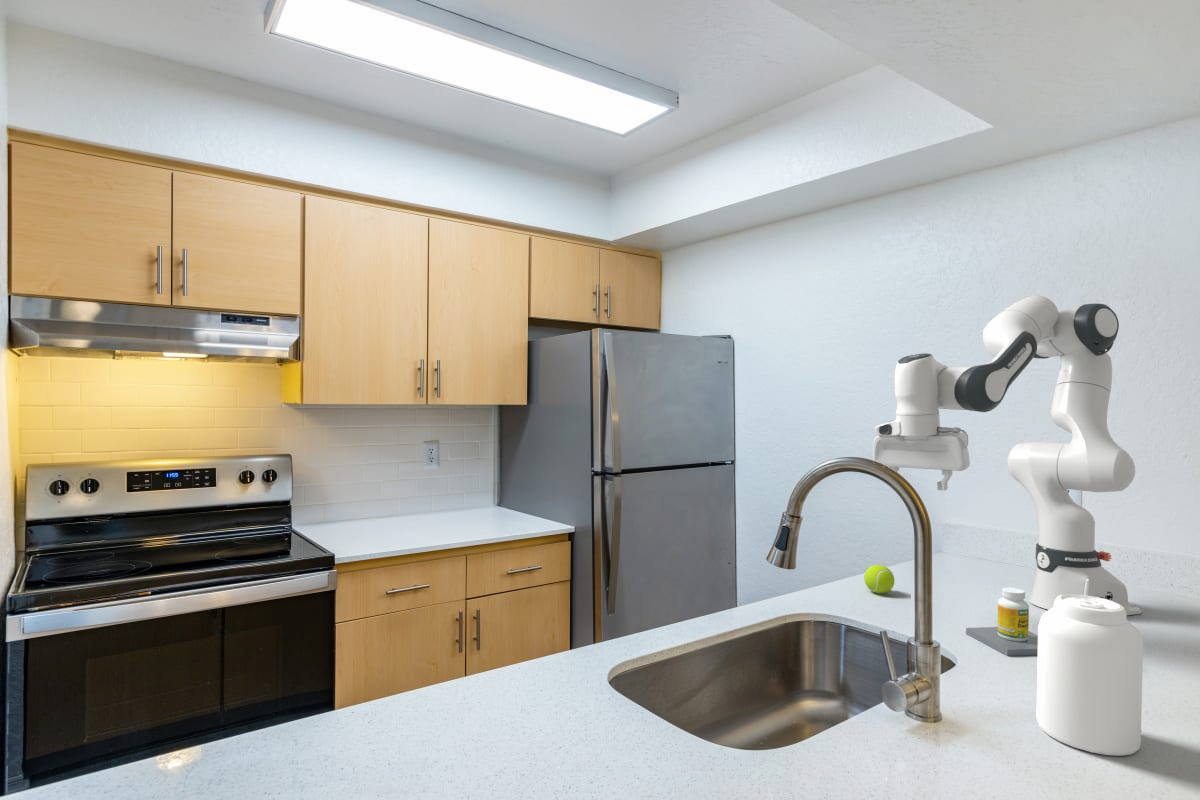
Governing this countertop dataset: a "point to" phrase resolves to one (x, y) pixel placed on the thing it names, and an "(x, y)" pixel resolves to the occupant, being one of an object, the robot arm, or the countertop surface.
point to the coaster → (1005, 641)
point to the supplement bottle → (1013, 615)
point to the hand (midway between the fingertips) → (920, 488)
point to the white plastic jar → (1090, 675)
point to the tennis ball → (879, 579)
